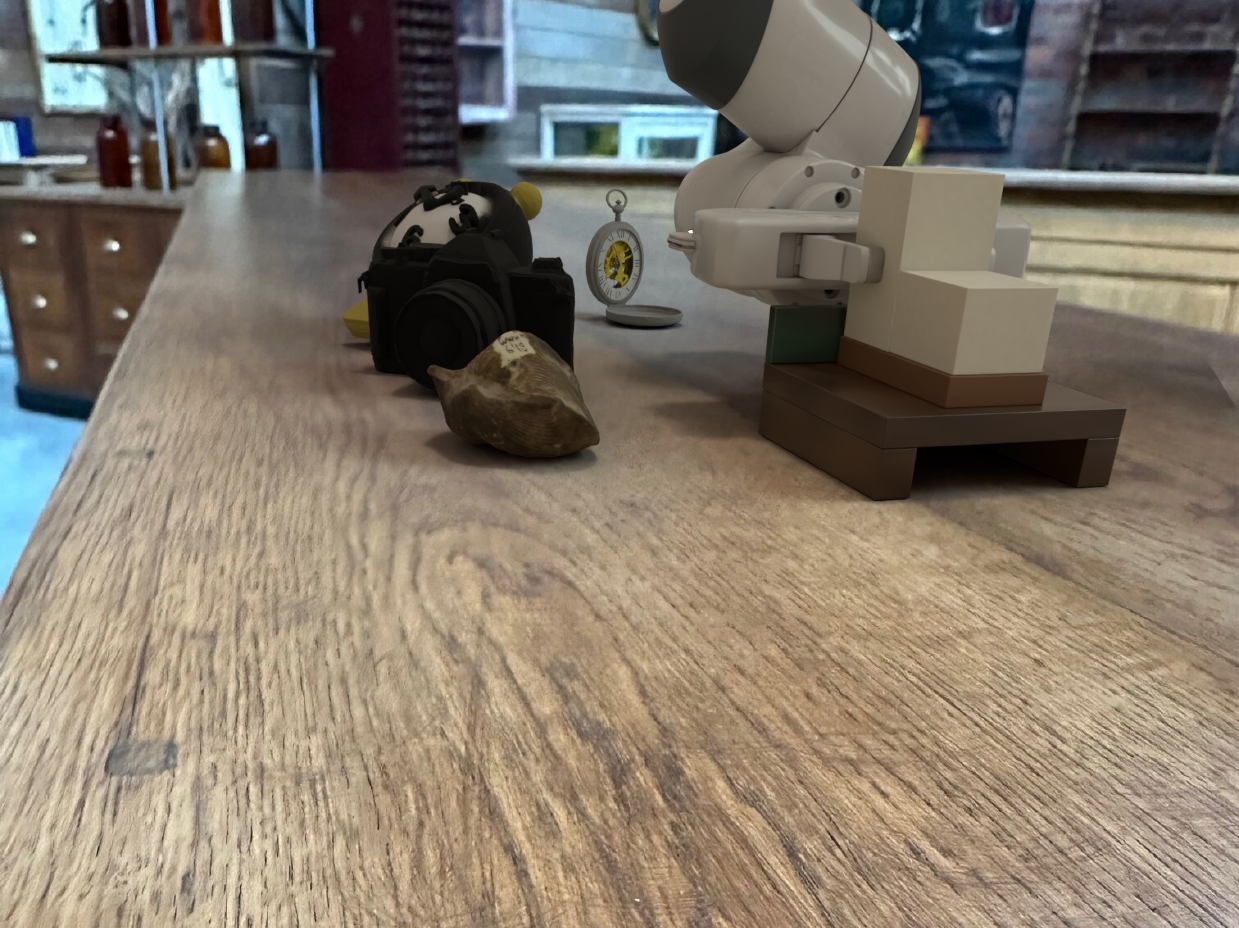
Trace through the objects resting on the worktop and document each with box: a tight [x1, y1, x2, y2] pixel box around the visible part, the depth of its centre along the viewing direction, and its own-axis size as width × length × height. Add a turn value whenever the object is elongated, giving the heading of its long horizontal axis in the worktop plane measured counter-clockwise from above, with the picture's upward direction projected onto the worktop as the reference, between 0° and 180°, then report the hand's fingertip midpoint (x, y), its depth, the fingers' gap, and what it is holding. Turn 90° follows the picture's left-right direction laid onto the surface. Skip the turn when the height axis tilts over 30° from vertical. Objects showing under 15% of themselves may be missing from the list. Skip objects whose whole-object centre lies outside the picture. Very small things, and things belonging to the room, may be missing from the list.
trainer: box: [837, 166, 1060, 408], centre depth 63 cm, size 12×6×10 cm, turn 19°
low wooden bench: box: [757, 304, 1128, 501], centre depth 66 cm, size 14×14×7 cm
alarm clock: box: [341, 177, 543, 341], centre depth 93 cm, size 12×15×15 cm
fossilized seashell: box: [427, 331, 601, 458], centre depth 65 cm, size 8×7×10 cm
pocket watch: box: [585, 187, 684, 328], centre depth 102 cm, size 8×8×10 cm
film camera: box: [357, 228, 576, 392], centre depth 78 cm, size 15×10×9 cm, turn 73°
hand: (929, 266), depth 65 cm, fingers closed on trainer, 5 cm apart
